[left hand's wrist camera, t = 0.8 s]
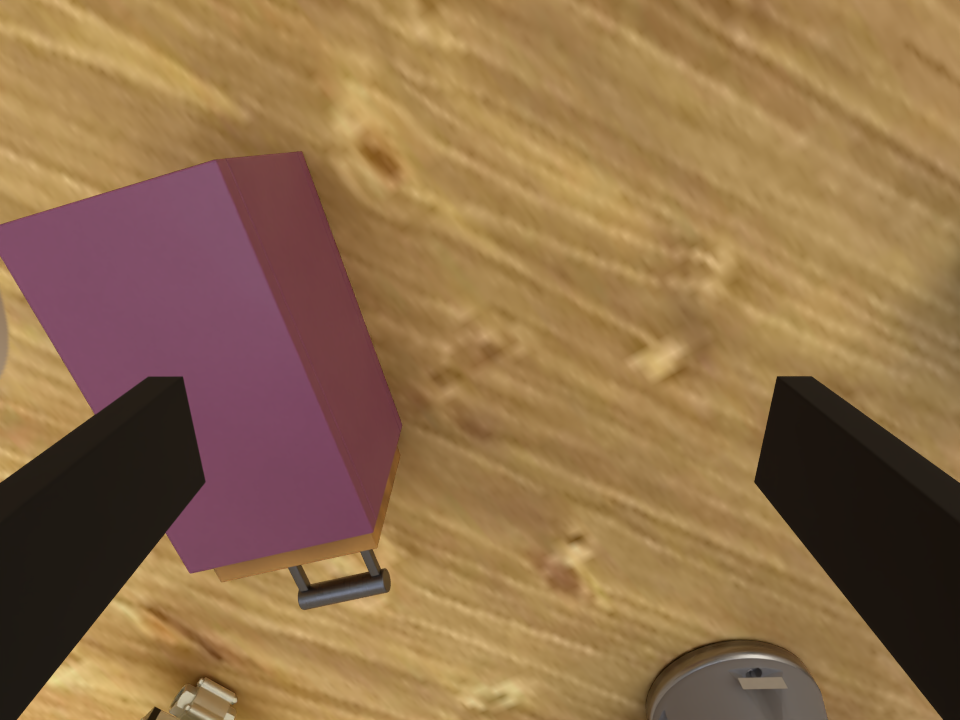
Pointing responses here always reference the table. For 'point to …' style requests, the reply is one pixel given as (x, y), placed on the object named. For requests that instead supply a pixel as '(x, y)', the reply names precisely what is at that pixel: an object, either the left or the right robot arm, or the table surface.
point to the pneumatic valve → (199, 703)
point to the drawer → (331, 589)
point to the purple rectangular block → (225, 344)
